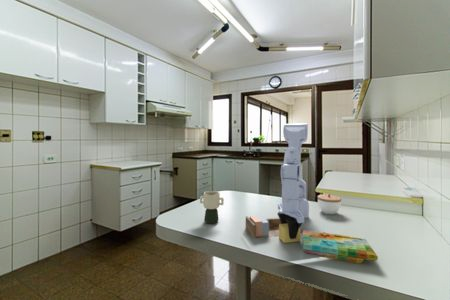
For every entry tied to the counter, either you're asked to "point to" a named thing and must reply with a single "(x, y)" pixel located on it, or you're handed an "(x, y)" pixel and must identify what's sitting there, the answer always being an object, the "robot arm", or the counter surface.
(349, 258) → the puzzle game
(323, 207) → the lidded jar
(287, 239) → the pale yellow upright block
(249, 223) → the shelf tray
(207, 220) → the character mug
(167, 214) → the counter surface
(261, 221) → the row books
